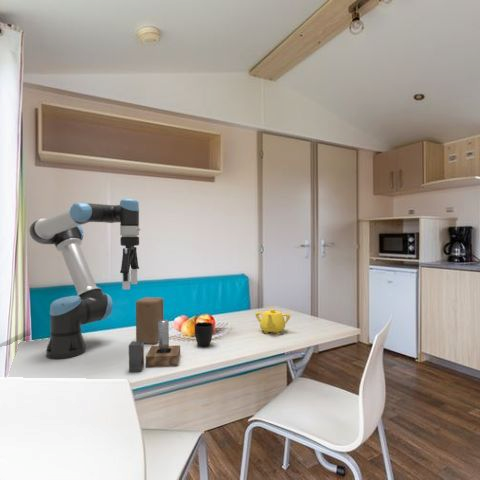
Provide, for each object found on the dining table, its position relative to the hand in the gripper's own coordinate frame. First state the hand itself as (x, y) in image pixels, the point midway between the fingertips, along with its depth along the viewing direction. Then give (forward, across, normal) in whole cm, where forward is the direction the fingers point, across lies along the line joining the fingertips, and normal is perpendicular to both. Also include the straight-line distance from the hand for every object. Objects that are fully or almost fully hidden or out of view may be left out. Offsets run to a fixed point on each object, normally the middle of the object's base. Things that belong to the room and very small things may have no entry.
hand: (130, 286), depth 142 cm
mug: (+29, +10, -30) cm, 43 cm away
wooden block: (+29, +17, -5) cm, 34 cm away
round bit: (+29, -9, -15) cm, 34 cm away
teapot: (+29, +24, -65) cm, 75 cm away
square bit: (+29, -17, -6) cm, 34 cm away
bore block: (+29, -9, -15) cm, 34 cm away
